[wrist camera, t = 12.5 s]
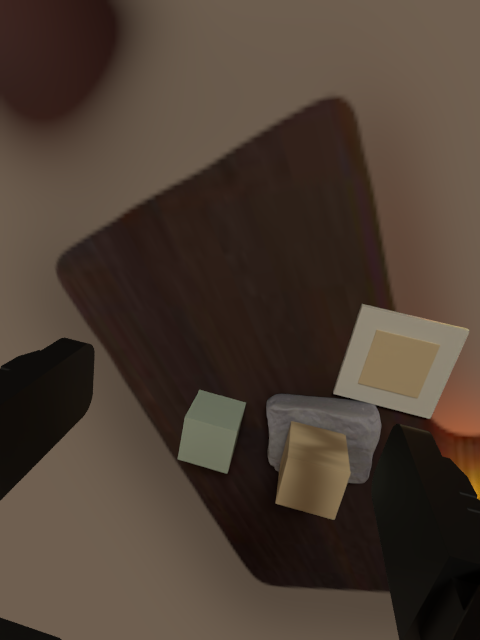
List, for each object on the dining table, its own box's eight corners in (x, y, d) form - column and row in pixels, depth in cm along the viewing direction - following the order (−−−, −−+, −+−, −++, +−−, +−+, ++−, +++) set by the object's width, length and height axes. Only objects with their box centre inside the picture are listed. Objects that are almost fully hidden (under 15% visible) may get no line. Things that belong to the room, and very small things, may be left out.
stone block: (369, 458, 44) (380, 394, 39) (373, 494, 40) (386, 428, 35) (269, 445, 47) (267, 383, 42) (263, 479, 43) (261, 415, 38)
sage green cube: (246, 402, 43) (237, 431, 38) (236, 440, 45) (227, 473, 40) (199, 389, 43) (185, 416, 38) (192, 428, 45) (177, 459, 40)
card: (467, 328, 36) (470, 331, 35) (428, 415, 39) (430, 419, 38) (361, 303, 37) (362, 306, 36) (333, 391, 40) (333, 394, 39)
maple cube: (345, 434, 38) (350, 473, 32) (331, 476, 40) (334, 519, 34) (291, 420, 38) (287, 456, 33) (280, 463, 40) (275, 503, 35)
